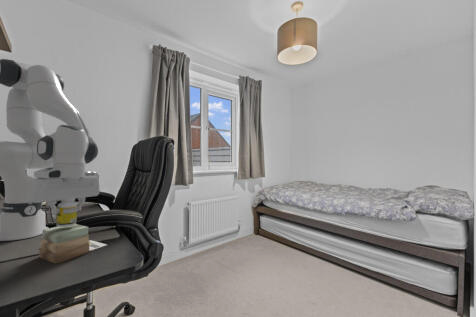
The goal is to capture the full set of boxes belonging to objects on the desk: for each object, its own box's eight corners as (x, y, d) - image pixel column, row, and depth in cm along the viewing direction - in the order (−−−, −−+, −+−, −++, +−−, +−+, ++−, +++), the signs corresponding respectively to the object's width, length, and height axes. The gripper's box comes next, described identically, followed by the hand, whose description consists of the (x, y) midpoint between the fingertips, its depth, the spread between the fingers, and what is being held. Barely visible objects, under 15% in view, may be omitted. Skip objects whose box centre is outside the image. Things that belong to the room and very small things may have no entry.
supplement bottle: (56, 224, 76) (58, 195, 76) (75, 222, 79) (77, 195, 79) (56, 228, 71) (58, 197, 72) (76, 225, 75) (78, 196, 75)
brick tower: (38, 257, 73) (40, 229, 73) (72, 247, 82) (73, 222, 82) (56, 263, 68) (57, 234, 69) (88, 252, 78) (90, 226, 78)
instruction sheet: (73, 245, 83) (73, 244, 83) (90, 240, 89) (90, 239, 89) (90, 250, 79) (90, 250, 79) (107, 245, 85) (107, 244, 85)
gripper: (93, 171, 87) (91, 206, 86) (27, 172, 68) (24, 216, 68) (104, 171, 84) (102, 208, 84) (38, 173, 65) (35, 219, 65)
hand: (67, 212), depth 75 cm, fingers closed on supplement bottle, 5 cm apart
